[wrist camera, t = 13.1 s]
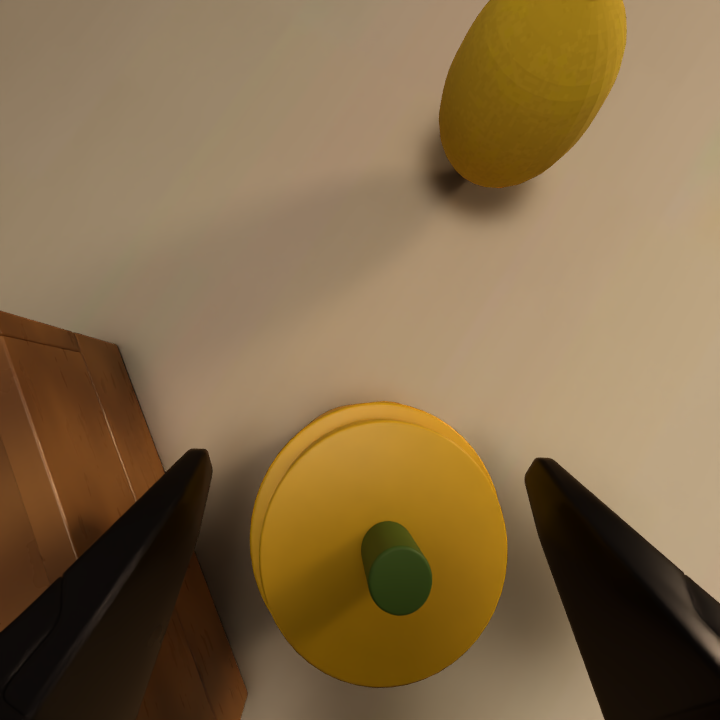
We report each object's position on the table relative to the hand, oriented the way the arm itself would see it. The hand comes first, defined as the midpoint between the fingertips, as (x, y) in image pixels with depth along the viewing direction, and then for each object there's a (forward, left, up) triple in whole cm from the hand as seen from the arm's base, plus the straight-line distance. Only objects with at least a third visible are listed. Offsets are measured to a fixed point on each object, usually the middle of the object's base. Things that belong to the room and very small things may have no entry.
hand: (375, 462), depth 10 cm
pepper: (-1, 0, -5) cm, 5 cm away
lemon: (+12, -8, -5) cm, 15 cm away
